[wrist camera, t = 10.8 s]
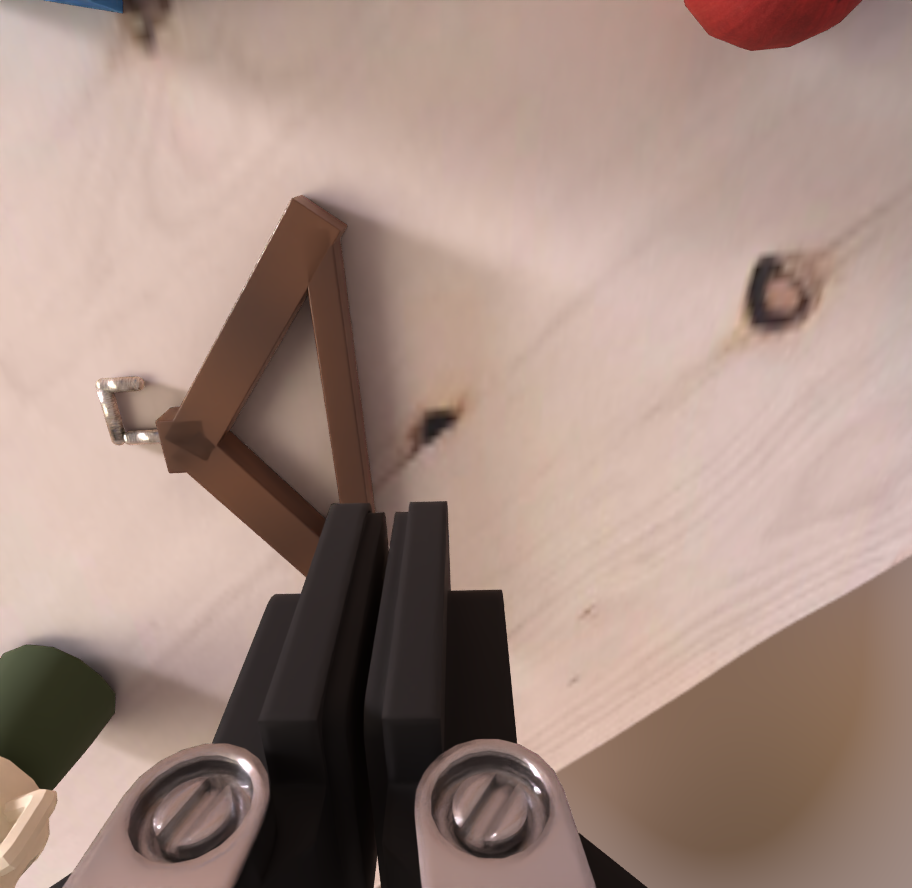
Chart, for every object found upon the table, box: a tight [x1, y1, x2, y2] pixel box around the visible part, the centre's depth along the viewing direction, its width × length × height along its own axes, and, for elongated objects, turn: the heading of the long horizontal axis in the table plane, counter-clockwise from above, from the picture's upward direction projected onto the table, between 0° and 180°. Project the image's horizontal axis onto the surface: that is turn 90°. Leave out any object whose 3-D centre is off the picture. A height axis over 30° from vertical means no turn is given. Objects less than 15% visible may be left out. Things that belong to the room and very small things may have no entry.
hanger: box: [96, 195, 375, 577], centre depth 28 cm, size 11×18×2 cm, turn 4°
